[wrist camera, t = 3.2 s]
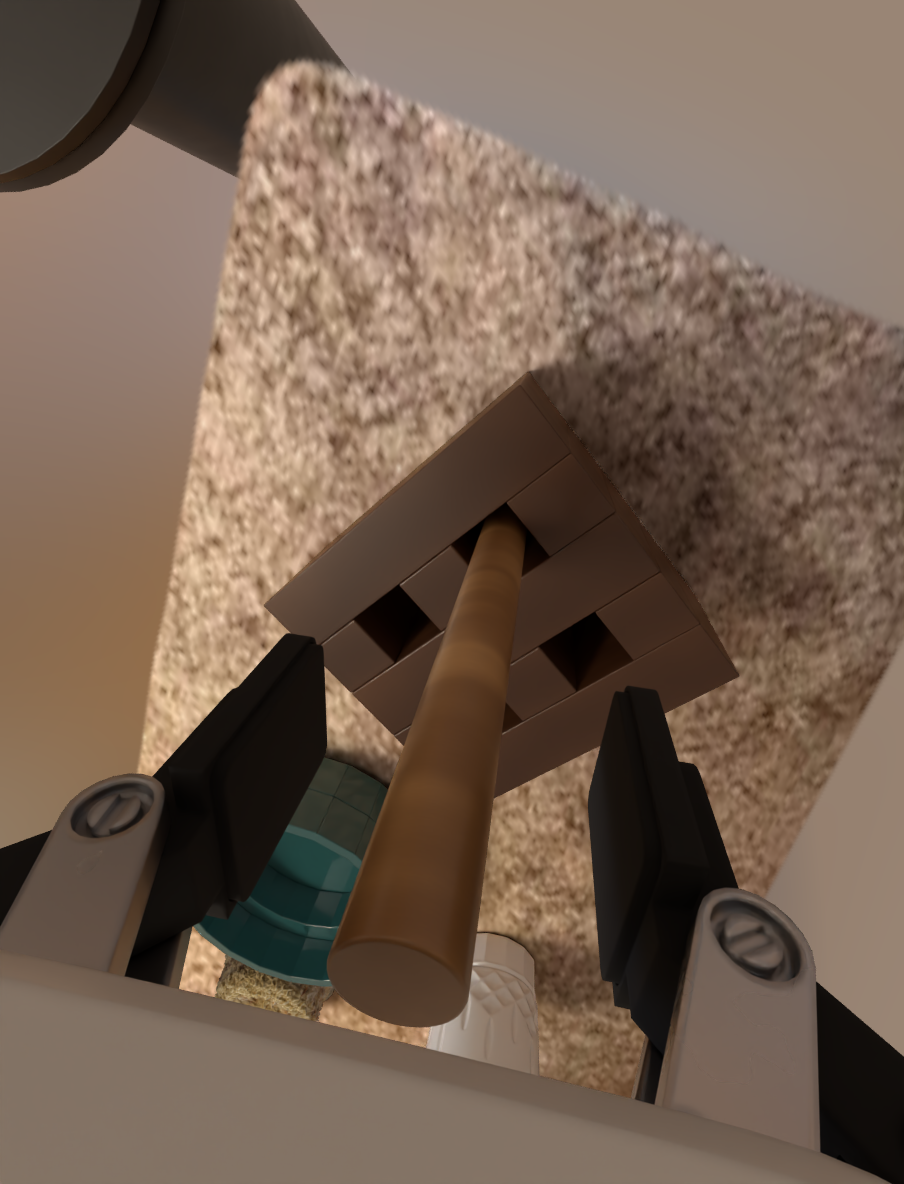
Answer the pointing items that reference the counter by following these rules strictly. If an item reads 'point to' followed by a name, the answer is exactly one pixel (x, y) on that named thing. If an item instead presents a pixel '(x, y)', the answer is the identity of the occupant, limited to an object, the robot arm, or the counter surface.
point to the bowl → (305, 881)
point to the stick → (437, 811)
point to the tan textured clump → (270, 991)
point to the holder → (546, 599)
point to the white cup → (496, 1009)
